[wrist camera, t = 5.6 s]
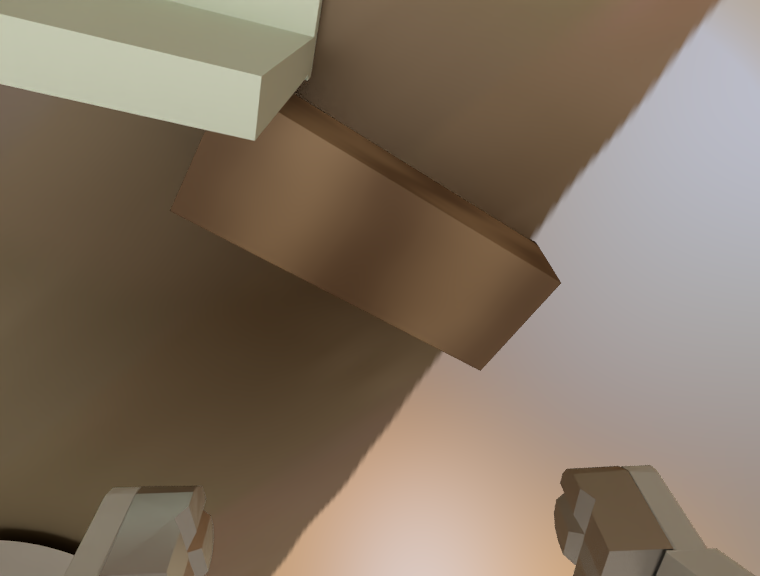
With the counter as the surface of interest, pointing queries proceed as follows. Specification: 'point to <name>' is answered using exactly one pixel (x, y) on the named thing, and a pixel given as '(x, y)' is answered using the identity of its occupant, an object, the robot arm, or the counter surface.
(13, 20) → the pegged wall bracket
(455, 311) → the brown wooden block
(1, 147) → the counter surface
